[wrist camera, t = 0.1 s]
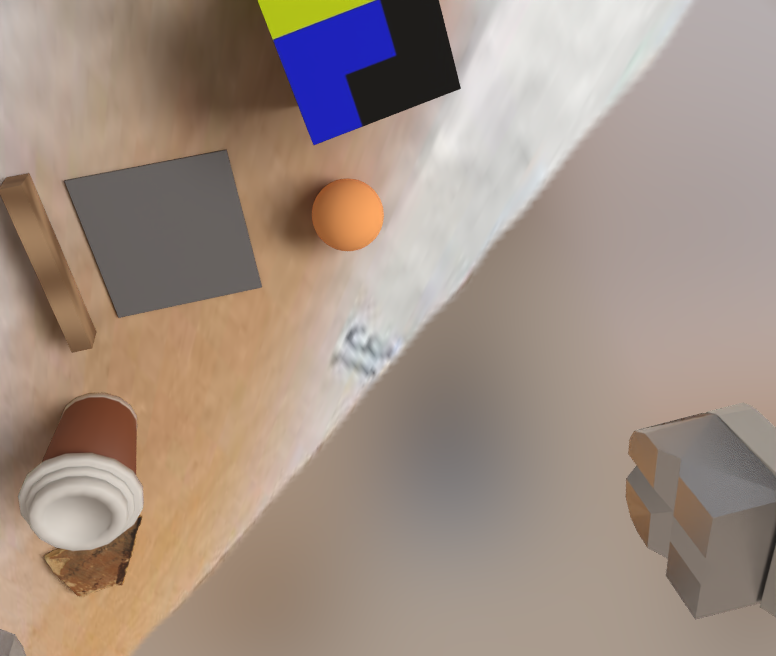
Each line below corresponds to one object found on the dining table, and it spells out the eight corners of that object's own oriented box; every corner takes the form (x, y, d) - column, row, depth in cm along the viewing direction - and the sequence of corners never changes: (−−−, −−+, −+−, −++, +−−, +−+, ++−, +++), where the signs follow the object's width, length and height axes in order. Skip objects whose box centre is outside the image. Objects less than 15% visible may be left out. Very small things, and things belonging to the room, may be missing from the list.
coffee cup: (161, 388, 63) (151, 481, 53) (143, 465, 67) (131, 565, 57) (50, 372, 60) (18, 467, 50) (39, 453, 64) (6, 557, 54)
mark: (65, 180, 52) (64, 181, 52) (226, 149, 54) (226, 150, 53) (119, 316, 59) (118, 317, 59) (261, 286, 60) (261, 287, 60)
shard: (142, 505, 71) (141, 518, 69) (181, 550, 75) (180, 564, 73) (43, 547, 71) (40, 561, 69) (87, 590, 75) (84, 604, 73)
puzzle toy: (298, 105, 53) (313, 145, 45) (243, -36, 48) (249, -21, 39) (422, 57, 53) (460, 88, 45) (382, -89, 48) (417, -85, 39)
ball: (302, 176, 56) (310, 202, 51) (371, 162, 56) (385, 186, 52) (314, 240, 59) (323, 269, 54) (380, 226, 60) (394, 254, 55)
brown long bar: (6, 177, 51) (-3, 189, 49) (29, 173, 52) (21, 185, 50) (76, 336, 59) (71, 352, 57) (96, 332, 59) (92, 348, 57)
